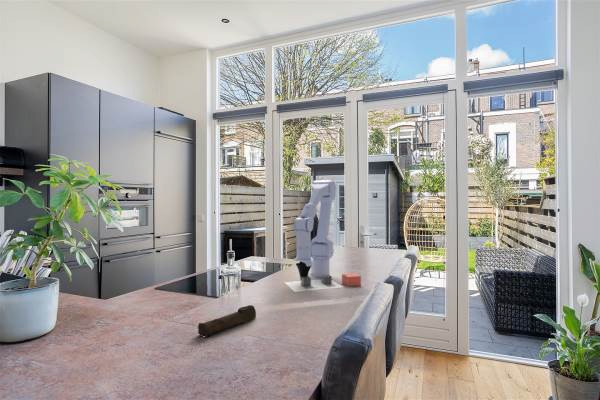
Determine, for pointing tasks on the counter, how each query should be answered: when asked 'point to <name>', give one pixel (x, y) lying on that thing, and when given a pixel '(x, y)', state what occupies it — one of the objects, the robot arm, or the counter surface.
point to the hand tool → (227, 321)
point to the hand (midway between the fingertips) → (303, 280)
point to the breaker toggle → (306, 281)
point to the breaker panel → (314, 284)
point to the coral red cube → (351, 279)
